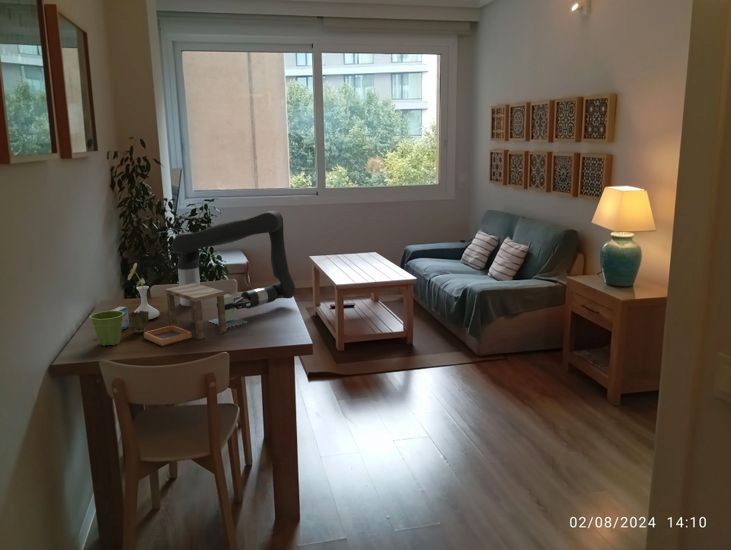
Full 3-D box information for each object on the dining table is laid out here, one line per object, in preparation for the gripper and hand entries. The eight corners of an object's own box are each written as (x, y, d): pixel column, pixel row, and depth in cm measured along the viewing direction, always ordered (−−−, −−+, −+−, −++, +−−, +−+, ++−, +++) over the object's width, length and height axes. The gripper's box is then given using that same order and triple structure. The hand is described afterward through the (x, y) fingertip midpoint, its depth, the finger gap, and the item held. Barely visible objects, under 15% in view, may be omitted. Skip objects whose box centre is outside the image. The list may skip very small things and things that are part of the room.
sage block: (219, 319, 248) (217, 296, 246) (228, 317, 251) (226, 294, 249) (225, 321, 245) (224, 297, 243) (235, 319, 248) (233, 295, 246)
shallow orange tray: (144, 338, 230) (143, 332, 229) (172, 331, 238) (172, 325, 238) (162, 346, 220) (162, 340, 220) (191, 338, 229) (191, 332, 228)
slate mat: (207, 321, 250) (207, 320, 249) (228, 316, 257) (228, 315, 257) (227, 328, 240) (227, 327, 240) (247, 322, 247) (247, 321, 247)
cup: (135, 329, 242) (133, 310, 240) (153, 329, 241) (151, 310, 240) (127, 335, 234) (125, 315, 233) (146, 335, 234) (143, 315, 232)
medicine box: (118, 333, 237) (116, 312, 236) (108, 332, 238) (105, 311, 236) (130, 327, 245) (127, 306, 243) (120, 326, 246) (117, 306, 244)
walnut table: (168, 328, 241) (164, 289, 238) (197, 321, 250) (193, 283, 247) (198, 340, 226) (194, 297, 223) (227, 331, 236) (224, 291, 232)
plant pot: (115, 349, 218) (112, 319, 216) (86, 348, 220) (82, 318, 218) (133, 338, 230) (130, 310, 227) (105, 337, 232) (101, 309, 229)
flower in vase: (141, 314, 263) (135, 258, 258) (165, 315, 261) (159, 259, 255) (123, 323, 251) (117, 264, 245) (148, 324, 248) (142, 265, 243)
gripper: (244, 287, 261) (210, 295, 249) (264, 292, 251) (229, 300, 239) (245, 303, 263) (211, 312, 250) (265, 309, 253) (231, 318, 241)
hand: (220, 306), depth 245 cm, fingers closed on sage block, 4 cm apart
